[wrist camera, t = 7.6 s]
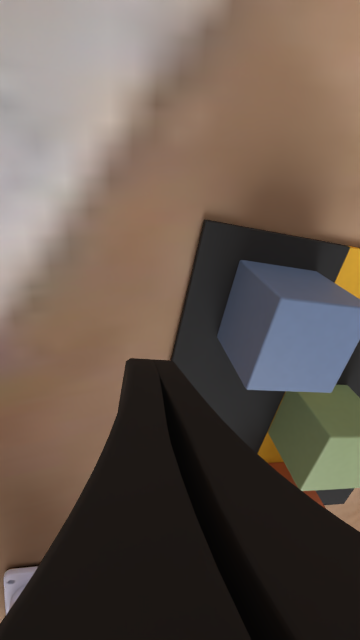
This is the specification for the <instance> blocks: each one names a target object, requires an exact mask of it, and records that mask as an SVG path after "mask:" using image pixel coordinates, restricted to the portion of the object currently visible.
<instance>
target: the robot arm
mask: <svg viewBox="0 0 360 640" xmlns="http://www.w3.org/2000/svg"><path fill="white" fill-rule="evenodd" d="M3 579H4V595H5V611H6V616H5V618H4V619H3V620H2V622H1V623H0V640H360V532H359V531H357V530H356V529H354V528H353V527H351V526H350V525H348V524H347V523H345V522H344V521H342V520H341V519H339V518H338V517H337V516H335V515H334V514H332V513H331V512H330V511H328V510H327V509H325V508H324V507H323V506H321V505H320V504H318V503H317V502H316V501H314V500H313V499H312V498H310V497H309V496H308V495H307V494H305V493H304V492H303V491H301V490H300V489H299V488H297V487H296V486H295V485H293V484H292V483H291V482H290V481H288V480H287V479H286V478H285V477H283V476H282V475H281V474H280V473H279V472H277V471H276V470H275V469H274V468H273V467H272V466H270V465H269V464H268V463H267V462H266V461H265V460H264V459H262V458H261V457H260V456H259V455H258V454H257V453H256V452H255V451H253V450H252V449H251V448H250V447H249V446H248V445H247V444H246V443H245V442H244V441H243V440H242V439H241V438H240V437H239V436H238V435H237V434H236V433H235V432H234V431H233V430H232V429H231V428H230V427H229V426H228V425H227V424H226V423H225V422H224V421H223V420H222V419H221V418H220V416H219V415H218V414H217V413H216V412H215V411H214V410H213V409H212V408H211V406H210V405H209V404H208V403H207V402H206V401H205V400H204V398H203V397H202V396H201V395H200V394H199V392H198V391H197V390H196V389H195V388H194V386H193V385H192V384H191V383H190V381H189V380H188V379H187V378H186V376H185V375H184V374H183V373H182V371H181V370H180V369H179V368H178V366H177V365H176V364H175V363H174V362H173V361H167V360H150V359H134V358H131V359H129V360H128V361H126V365H125V371H124V377H123V383H122V389H121V395H120V401H119V407H118V413H117V416H116V419H115V421H114V424H113V427H112V429H111V432H110V435H109V437H108V439H107V442H106V444H105V446H104V449H103V451H102V453H101V455H100V457H99V460H98V462H97V464H96V466H95V468H94V470H93V472H92V474H91V476H90V478H89V480H88V482H87V484H86V485H85V487H84V489H83V491H82V493H81V495H80V497H79V499H78V501H77V502H76V504H75V506H74V508H73V510H72V511H71V513H70V515H69V517H68V518H67V520H66V522H65V523H64V525H63V527H62V528H61V530H60V532H59V533H58V535H57V537H56V538H55V540H54V542H53V543H52V545H51V547H50V548H49V550H48V551H47V553H46V555H45V556H44V558H43V560H42V561H41V563H40V565H39V566H34V567H24V568H15V569H9V570H7V571H6V572H5V574H4V578H3Z"/></svg>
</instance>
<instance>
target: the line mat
mask: <svg viewBox="0 0 360 640" xmlns="http://www.w3.org/2000/svg"><path fill="white" fill-rule="evenodd" d="M240 260H246V261H252V262H259V263H265V264H272V265H279V266H285V267H292V268H298V269H305V270H311V271H317V272H318V273H320V274H321V275H323V276H324V277H326V278H327V279H329V280H331V281H332V282H334V283H335V284H337V285H338V286H340V287H341V288H343V289H345V290H346V291H348V292H349V293H351V294H352V295H354V296H355V297H357V298H359V299H360V248H357V247H352V246H346V245H341V244H335V243H330V242H325V241H319V240H314V239H308V238H303V237H297V236H292V235H286V234H281V233H276V232H270V231H265V230H259V229H254V228H248V227H243V226H237V225H232V224H227V223H221V222H216V221H210V220H204V223H203V227H202V231H201V235H200V240H199V244H198V248H197V252H196V256H195V261H194V265H193V269H192V273H191V277H190V282H189V286H188V290H187V294H186V299H185V303H184V307H183V311H182V315H181V320H180V324H179V328H178V332H177V337H176V341H175V345H174V349H173V353H172V358H171V361H173V362H174V363H175V364H176V365H177V366H178V368H179V369H180V370H181V371H182V373H183V374H184V375H185V376H186V378H187V379H188V380H189V381H190V383H191V384H192V385H193V386H194V388H195V389H196V390H197V391H198V392H199V394H200V395H201V396H202V397H203V398H204V400H205V401H206V402H207V403H208V404H209V405H210V406H211V408H212V409H213V410H214V411H215V412H216V413H217V414H218V415H219V416H220V418H221V419H222V420H223V421H224V422H225V423H226V424H227V425H228V426H229V427H230V428H231V429H232V430H233V431H234V432H235V433H236V434H237V435H238V436H239V437H240V438H241V439H242V440H243V441H244V442H245V443H246V444H247V445H248V446H249V447H250V448H251V449H252V450H253V451H255V452H256V453H257V454H258V455H259V456H260V457H261V458H262V459H264V460H265V461H266V462H267V463H276V462H284V461H283V459H282V458H281V456H280V454H279V452H278V450H277V448H276V447H275V445H274V443H273V441H272V439H271V437H270V436H269V434H268V431H269V429H270V426H271V424H272V422H273V420H274V418H275V415H276V413H277V411H278V409H279V406H280V404H281V402H282V400H283V398H284V395H285V393H286V391H266V390H247V389H246V388H245V386H244V384H243V383H242V381H241V379H240V377H239V375H238V374H237V372H236V370H235V368H234V366H233V365H232V363H231V361H230V359H229V357H228V356H227V354H226V352H225V350H224V348H223V347H222V345H221V343H220V341H219V339H218V338H217V334H218V331H219V328H220V324H221V321H222V318H223V314H224V311H225V308H226V305H227V301H228V298H229V295H230V291H231V288H232V285H233V281H234V278H235V275H236V271H237V268H238V265H239V261H240ZM336 385H348V386H349V387H350V388H351V389H352V390H353V391H354V392H355V394H356V395H357V396H358V397H359V398H360V340H359V342H358V344H357V346H356V348H355V349H354V351H353V353H352V355H351V357H350V359H349V361H348V363H347V364H346V366H345V368H344V370H343V372H342V374H341V376H340V378H339V380H338V381H337V383H336ZM353 490H354V488H347V489H331V490H315V491H316V493H317V494H318V496H319V498H320V499H321V501H322V503H323V505H333V504H344V503H345V501H346V500H347V498H348V497H349V495H350V494H351V492H352V491H353Z"/></svg>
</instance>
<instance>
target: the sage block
mask: <svg viewBox="0 0 360 640" xmlns="http://www.w3.org/2000/svg"><path fill="white" fill-rule="evenodd" d="M268 434H269V436H270V437H271V439H272V441H273V443H274V445H275V447H276V448H277V450H278V452H279V454H280V456H281V458H282V459H283V461H284V463H285V465H286V467H287V469H288V470H289V472H290V474H291V476H292V478H293V480H294V481H295V483H296V485H297V487H298V488H299V489H300V490H301V491H314V490H331V489H347V488H360V398H359V397H358V396H357V395H356V394H355V392H354V391H353V390H352V389H351V388H350V387H349V386H348V385H335V387H334V389H333V391H332V392H331V393H321V392H293V391H286V393H285V395H284V398H283V400H282V402H281V404H280V406H279V409H278V411H277V413H276V415H275V418H274V420H273V422H272V424H271V426H270V429H269V431H268Z"/></svg>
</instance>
